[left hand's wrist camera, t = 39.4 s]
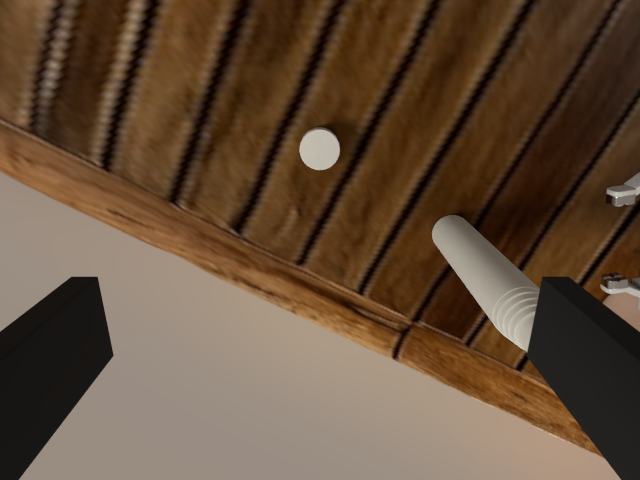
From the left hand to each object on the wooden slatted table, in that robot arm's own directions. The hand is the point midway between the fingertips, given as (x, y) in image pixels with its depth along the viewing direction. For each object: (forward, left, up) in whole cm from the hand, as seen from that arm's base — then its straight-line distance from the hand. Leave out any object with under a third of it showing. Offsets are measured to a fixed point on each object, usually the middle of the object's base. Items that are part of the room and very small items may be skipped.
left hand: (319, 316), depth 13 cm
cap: (0, 0, -36) cm, 36 cm away
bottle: (+3, +19, -38) cm, 42 cm away
